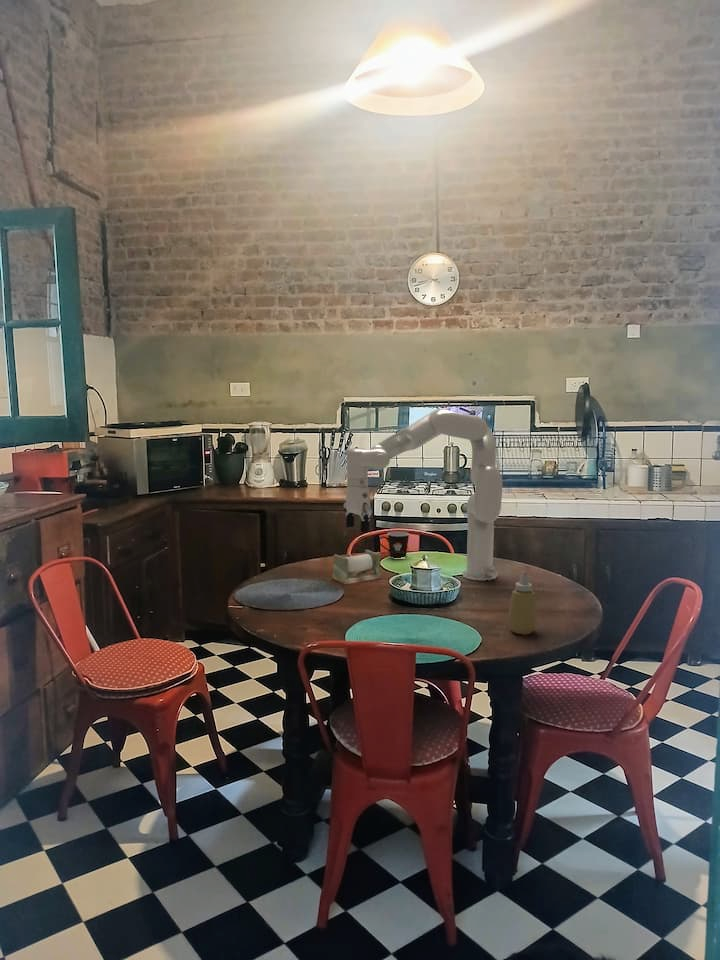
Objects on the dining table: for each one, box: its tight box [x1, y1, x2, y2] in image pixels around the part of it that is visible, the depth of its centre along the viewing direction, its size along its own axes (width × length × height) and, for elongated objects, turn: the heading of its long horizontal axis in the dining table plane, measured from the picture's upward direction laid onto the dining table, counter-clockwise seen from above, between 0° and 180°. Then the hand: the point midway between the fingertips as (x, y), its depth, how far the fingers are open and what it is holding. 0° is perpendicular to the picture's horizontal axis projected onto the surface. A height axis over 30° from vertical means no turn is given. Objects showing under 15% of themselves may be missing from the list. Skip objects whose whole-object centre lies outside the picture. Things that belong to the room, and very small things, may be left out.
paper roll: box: [343, 553, 373, 573], centre depth 271 cm, size 10×6×6 cm, turn 122°
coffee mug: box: [378, 531, 410, 558], centre depth 302 cm, size 12×9×10 cm
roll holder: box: [332, 549, 381, 585], centre depth 271 cm, size 15×9×9 cm, turn 123°
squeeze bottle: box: [508, 570, 537, 635], centre depth 215 cm, size 8×8×18 cm
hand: (357, 529), depth 269 cm, fingers open, 9 cm apart
